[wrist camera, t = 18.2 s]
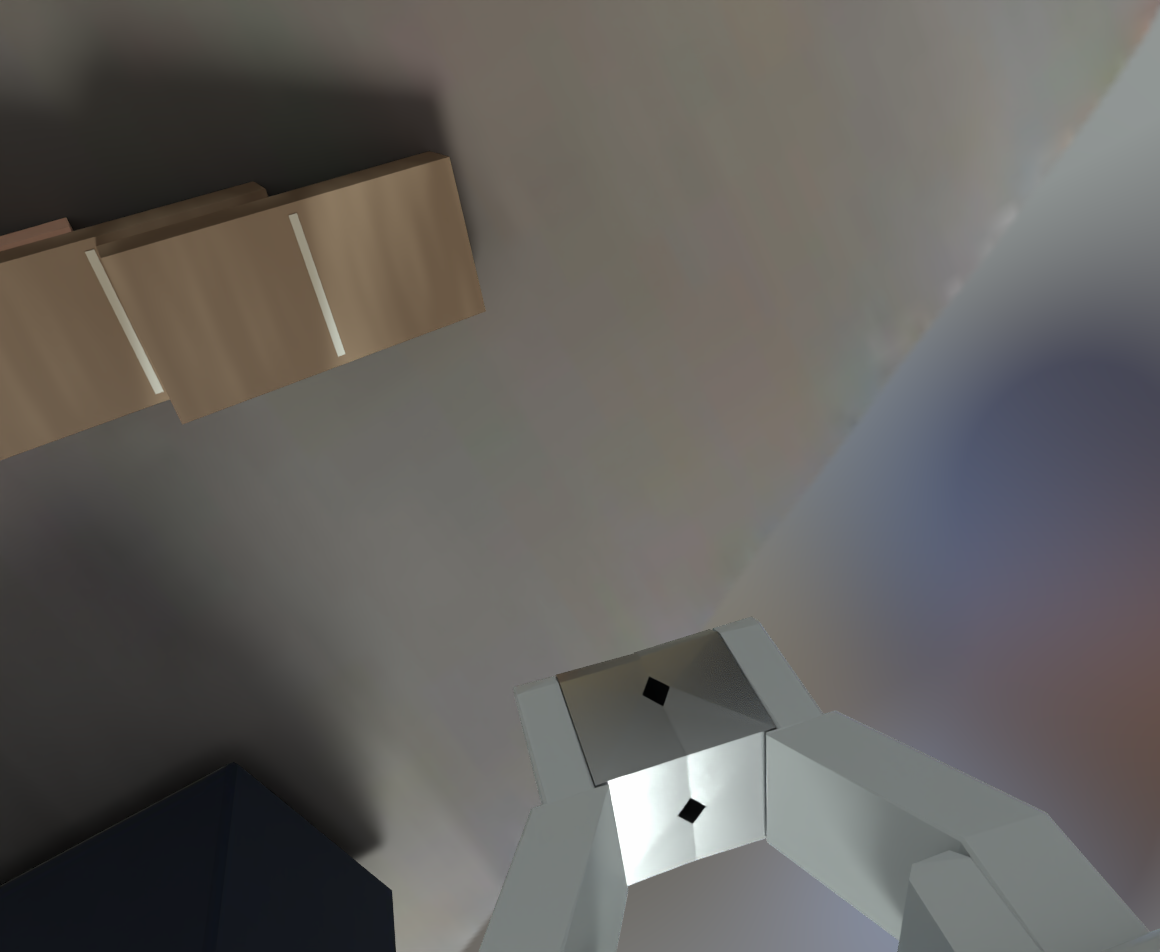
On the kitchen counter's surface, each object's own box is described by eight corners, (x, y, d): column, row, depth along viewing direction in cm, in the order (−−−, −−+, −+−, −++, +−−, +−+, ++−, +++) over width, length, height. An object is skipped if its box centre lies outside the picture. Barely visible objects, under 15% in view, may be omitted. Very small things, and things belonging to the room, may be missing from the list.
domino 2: (465, 299, 29) (173, 405, 25) (428, 151, 26) (96, 246, 23) (485, 311, 28) (182, 424, 24) (449, 156, 25) (100, 258, 21)
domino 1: (307, 331, 28) (-17, 445, 24) (252, 181, 25) (-122, 285, 22) (321, 344, 27) (-19, 467, 23) (265, 188, 24) (-130, 300, 20)
